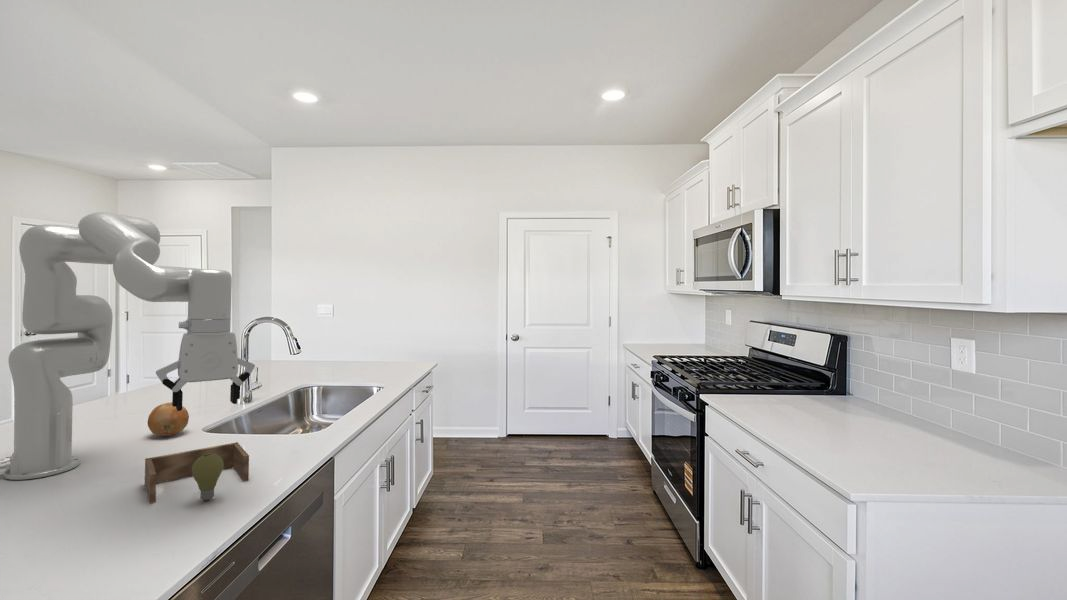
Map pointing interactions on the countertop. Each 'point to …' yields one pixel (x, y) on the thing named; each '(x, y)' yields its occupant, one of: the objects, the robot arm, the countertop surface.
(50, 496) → the countertop surface
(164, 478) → the brown legged wooden frame
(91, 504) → the countertop surface
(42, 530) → the countertop surface
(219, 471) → the light bulb
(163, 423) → the onion
